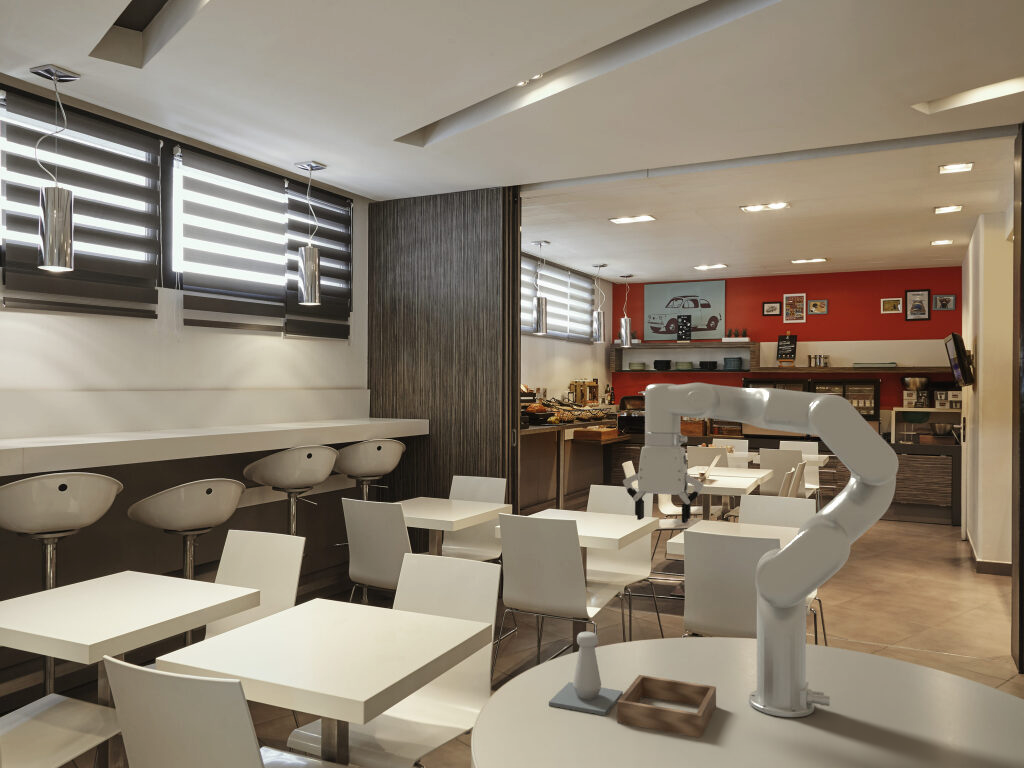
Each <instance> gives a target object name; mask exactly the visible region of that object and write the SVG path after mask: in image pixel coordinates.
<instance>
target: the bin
mask: <svg viewBox="0 0 1024 768" xmlns="http://www.w3.org/2000/svg"><path fill="white" fill-rule="evenodd" d="M644 696H647V697H646V698H650V697H652V699H656V698H658V699H657V700H662V699H665V700H664V701H668V700H670V701H669V702H674V701H675V702H676V703H680V702H681V703H682V704H686V703H687V705H692V706H699V708H698V709H697V712H694V711H686V710H680V709H674V708H670V707H663V706H657V705H650V704H644V703H639V702H640V700H641V699H642V698H641V697H644ZM640 698H641V699H640ZM638 701H639V702H638ZM681 703H680V704H681ZM616 706H617V707H616V710H617V711H616V713H617V715H616V717H617V718H616V720H617V723H618V724H623V725H628V724H629V726H634V725H635V727H639V726H641V727H640V728H645V727H646V729H650V728H651V730H656V731H660V732H661V731H662V732H666V733H667V732H668V733H672V734H678V735H679V734H680V735H684V736H688V737H693V738H694V737H695V738H701V739H702V737H703V735H704V733H705V730H706V728H707V726H708V724H709V722H710V721H711V718H712V716H713V714H714V711H715V710H716V708H717V686H713V685H707V684H700V683H696V682H694V683H693V682H690V681H688V682H687V681H681V680H675V679H668V678H661V677H657V676H651V675H650V676H649V675H642V674H638V676H637V677H636V678H635V679H634V680H633V682H632V683H631V684H630V685H629V686H628V688H627V689H626V690H625V691H624V692H623V695H622V696H621V697H620V699H619V700H618V701H617V702H616Z"/></svg>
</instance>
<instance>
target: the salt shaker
mask: <svg viewBox="0 0 1024 768" xmlns="http://www.w3.org/2000/svg"><path fill="white" fill-rule="evenodd" d="M598 641H599V637H598V635H597V634H596V633H595V632H592V631H581V632H579V633H578V634H577V636H576V643H577V644H578V646H579V648H578V653H577V659H576V667H575V671H574V676H573V682H572V683H573V687H574V690H575V692H576V695H577V697H579V698H580V699H584V700H592V699H595V698H597V696H598V694H599V691H600V689H601V687H602V680H601V676H600V670H599V664H598V660H597V655H596V648H595V647H596V646H597V645H598V643H599V642H598Z"/></svg>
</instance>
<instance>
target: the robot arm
mask: <svg viewBox="0 0 1024 768" xmlns="http://www.w3.org/2000/svg"><path fill="white" fill-rule="evenodd" d="M645 387H646V388H645V391H644V422H645V423H644V446H642V447H641V450H640V457H639V463H638V472H637V473H635V474H633V475H631V476H629V477H626V478H624V479H623V480H622V484H623V486H624V487H625V489H626V491H627V494H629V496H630V497H631V498H632V500H633V501H634V514H635V516H637V517H636V518H637V519H636V520H638V521H640V520H642V519H644V518H645V500H644V499H643V497H644V496H645V495H646V494H656V495H673V496H675V495H676V496H677V495H678V496H679V498H680V499H681V500H682V503H683V504H681V523H682V524H686V523H688V521H689V520H690V519H691V517H692V515H691V514H692V513H691V511H692V510H691V507H692V506H691V505H692V504H691V503H693V501H695V499H697V498H698V497H699V496H700V494H701V492H702V490H703V488H704V487H705V486H704V485H705V484H704V482H701V481H700V480H698V479H696V478H695V477H693V476H691V475H689V473H688V472H689V471H688V462H687V454H686V449H685V447H682V446H681V445H682V444H684V443H688V436H687V435H683V434H682V432H681V417H684V418H685V417H686V418H690V419H691V418H692V419H703V418H706V419H713V420H714V419H715V420H723V421H729V422H730V421H731V422H737V423H743V424H747V425H751V426H753V427H756V428H758V429H765V430H772V431H778V432H780V431H781V432H789V433H796V434H802V435H803V434H804V435H809V436H818V437H819V438H820V440H821V441H822V442H823V443H824V444H825V445H826V447H827V448H828V449H829V450H830V451H831V452H832V453H833V454H834V455H835V456H836V458H838V459H839V461H840V462H841V463H842V464H843V465H844V466H845V467H846V468H847V469H848V471H849V472H850V477H849V478H850V479H849V481H848V483H847V484H846V486H845V487H844V488H843V489H842V490H841V491H840V492H839V493H838V494H837V495H836V496H835V497H834V498H833V499H832V500H831V501H829V503H827V504H826V505H825V506H824V507H822V508H821V509H820V510H819V511H818V512H816V513H815V514H814V515H813V516H811V517H810V518H809V519H807V520H805V521H804V522H803V523H802V524H801V526H800V527H799V529H798V531H797V535H796V536H794V538H793V539H791V540H790V541H789V542H788V543H786V545H784V546H783V547H782V548H775V549H771V550H769V551H767V552H765V553H764V554H763V555H762V556H761V557H760V558H759V561H758V563H757V565H756V570H755V578H754V579H755V581H754V584H755V589H756V690H753V691H752V692H750V693H749V694H748V703H749V705H750V706H751V707H753V708H754V709H755V710H757V711H760V712H762V713H764V714H768V715H771V716H775V717H781V718H802V717H805V716H809V715H811V714H812V713H813V712H814V711H815V704H816V705H820V706H825V707H831V703H830V702H831V696H830V695H827V694H826V695H825V693H824V691H815V690H812V688H809V682H808V681H807V667H806V666H807V647H806V645H807V597H809V596H810V595H811V594H812V593H813V592H815V591H816V590H817V589H818V588H820V587H821V586H822V585H823V584H824V583H826V582H827V581H828V580H829V579H830V578H832V577H833V576H834V575H835V574H836V573H838V571H840V570H841V569H842V567H844V565H845V564H846V562H847V561H848V559H849V557H850V553H851V546H852V545H853V544H854V543H855V542H856V541H857V540H858V539H859V538H860V537H862V536H863V535H864V534H865V533H866V532H868V530H869V529H870V528H872V527H873V526H874V525H875V524H876V523H877V522H878V521H879V520H880V519H881V518H882V517H883V516H884V514H885V513H886V512H887V511H888V509H889V507H890V505H891V503H892V501H893V499H894V495H895V492H896V485H897V484H896V483H897V473H898V471H899V465H900V464H899V463H900V462H899V458H898V456H897V453H896V452H895V450H894V449H893V448H892V447H891V446H890V444H889V443H888V442H887V441H886V440H885V439H884V438H883V437H882V436H881V435H880V434H879V433H878V432H877V431H876V430H875V429H874V428H873V426H872V425H871V424H870V423H868V421H867V420H866V419H865V418H864V417H863V416H862V415H861V413H860V412H859V411H858V410H857V409H856V408H855V407H854V406H853V405H852V403H851V402H850V401H848V399H846V398H844V397H843V396H840V395H838V394H837V395H836V394H827V393H817V392H808V391H800V390H790V389H783V388H781V389H780V388H773V387H758V388H757V387H755V388H752V387H751V388H749V387H738V386H729V385H719V384H710V383H704V382H692V383H691V382H690V383H685V384H676V383H675V384H674V383H652V384H651V383H650V384H648V385H647V386H645ZM636 481H637V486H638V487H637V488H638V491H637V490H636V489H635V488H634V487H633V484H632V483H634V482H636ZM689 484H690V485H692V486H693V487H694V489H693V491H692V493H690V494H689V492H687V491H688V488H689Z"/></svg>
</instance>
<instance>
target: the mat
mask: <svg viewBox="0 0 1024 768" xmlns="http://www.w3.org/2000/svg"><path fill="white" fill-rule="evenodd" d="M623 691H624V690H619V689H613V688H606V687H602V686H601V689H600V691H599V694H598V696H597V698H595V699H592V700H584V699H580V698H579V697H577V695H576V692H575V690H574V687H573V682H572V681H569V682H568V683H566V684H565V685H564V686H563V688H561V690H559V691H558V692H557V693H556V694H555V695H554V696H553V697H552V698H551V699H550V700H549V701H548V706H549V707H555V708H559V707H560V709H564V708H567V709H566V710H570V709H572V711H575V710H578V711H577V712H581V711H583V712H582V713H587V712H589V713H588V714H592V713H595V714H594V715H598V714H599V715H600V716H603V715H605V716H607V715H608V713H609V712H610V711H611V710H612V709H613V708H614V706H615V705H616V704H617V701H618V699H619V698H621V696H622V695H623V694H624V692H623ZM615 703H616V704H615ZM611 708H612V709H611ZM610 709H611V710H610ZM606 714H607V715H606ZM605 716H604V717H605Z"/></svg>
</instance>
